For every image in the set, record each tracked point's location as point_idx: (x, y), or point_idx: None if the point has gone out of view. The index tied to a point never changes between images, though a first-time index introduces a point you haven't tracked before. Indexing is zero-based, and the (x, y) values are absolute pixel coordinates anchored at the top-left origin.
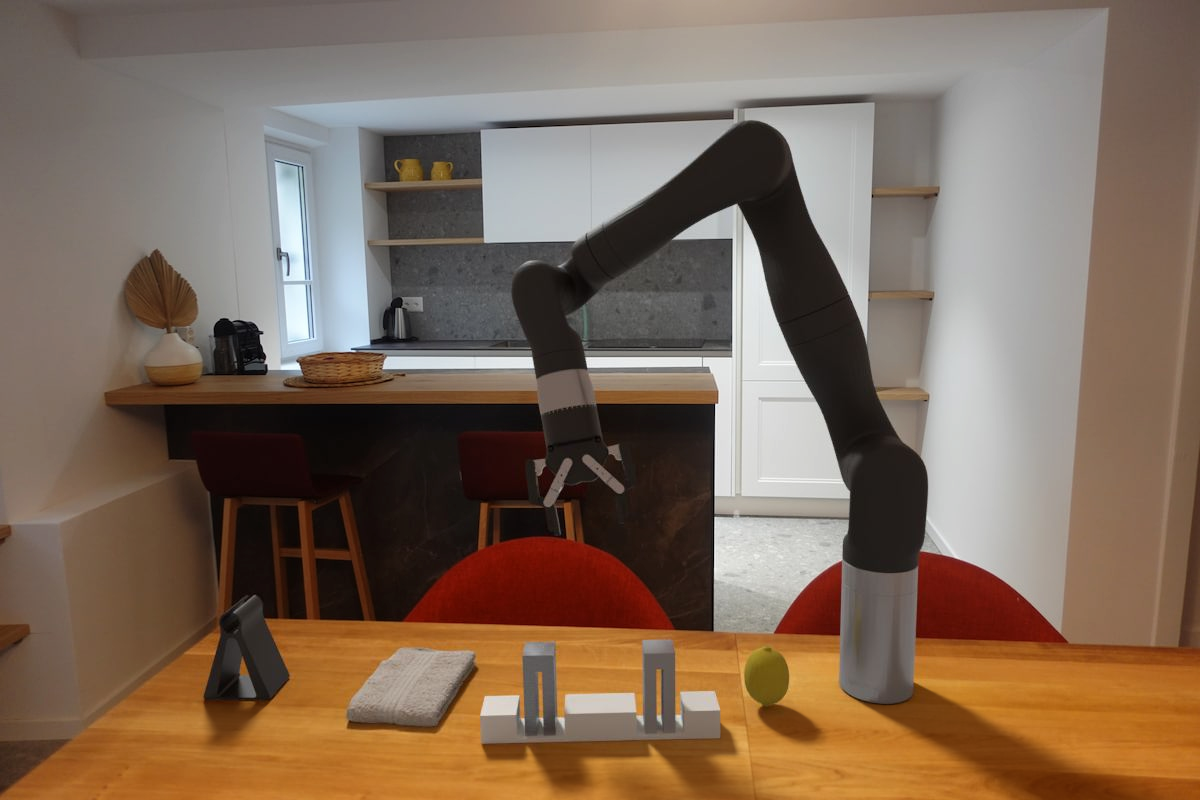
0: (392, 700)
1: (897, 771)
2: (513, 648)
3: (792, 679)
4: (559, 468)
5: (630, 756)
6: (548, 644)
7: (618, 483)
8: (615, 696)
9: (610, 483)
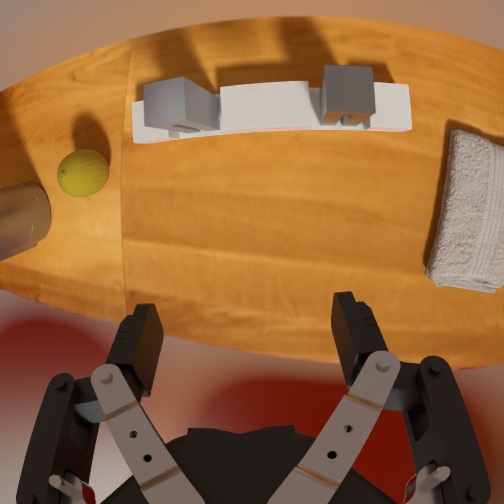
0: (499, 160)
1: (43, 89)
2: (382, 311)
3: (80, 225)
4: (338, 492)
5: (235, 66)
6: (336, 100)
7: (100, 392)
8: (245, 121)
9: (125, 399)
